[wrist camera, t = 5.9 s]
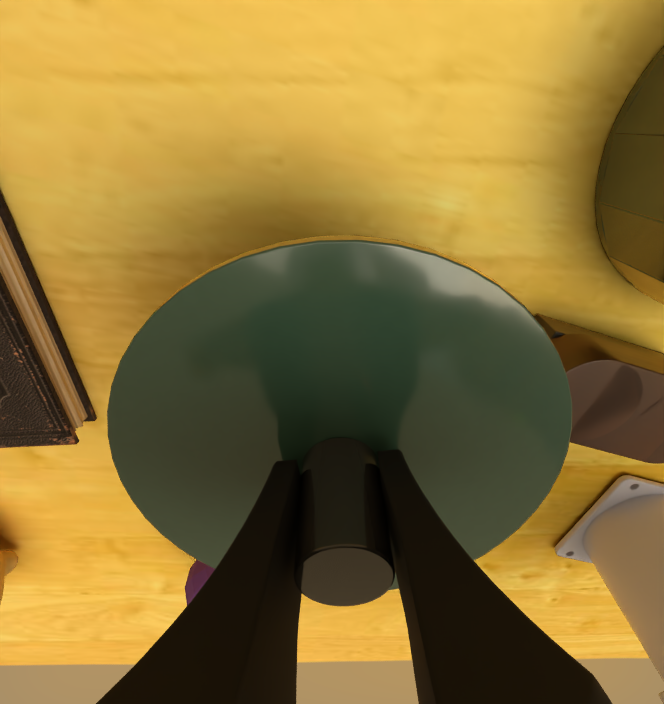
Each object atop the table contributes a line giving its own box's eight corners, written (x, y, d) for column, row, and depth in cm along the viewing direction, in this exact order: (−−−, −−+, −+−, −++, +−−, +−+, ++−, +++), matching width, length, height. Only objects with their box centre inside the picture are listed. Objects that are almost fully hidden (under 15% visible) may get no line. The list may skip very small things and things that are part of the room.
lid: (653, 317, 12) (831, 426, 7) (439, 593, 18) (472, 731, 14) (144, 147, 9) (0, 169, 5) (110, 531, 16) (35, 675, 12)
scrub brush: (678, 352, 22) (754, 402, 18) (625, 415, 24) (682, 472, 20) (529, 304, 20) (576, 347, 16) (486, 376, 22) (519, 429, 18)
